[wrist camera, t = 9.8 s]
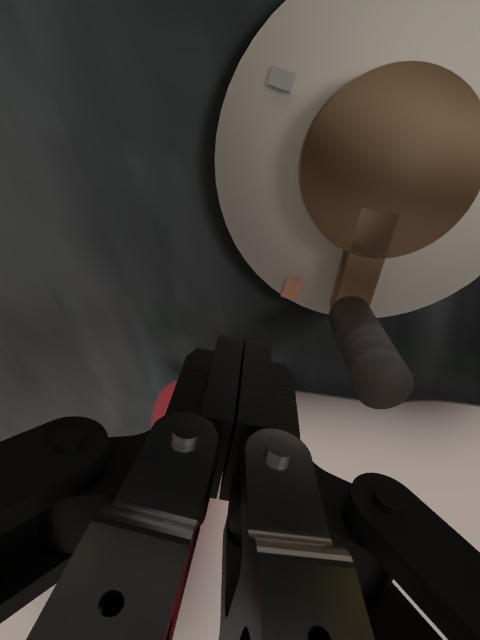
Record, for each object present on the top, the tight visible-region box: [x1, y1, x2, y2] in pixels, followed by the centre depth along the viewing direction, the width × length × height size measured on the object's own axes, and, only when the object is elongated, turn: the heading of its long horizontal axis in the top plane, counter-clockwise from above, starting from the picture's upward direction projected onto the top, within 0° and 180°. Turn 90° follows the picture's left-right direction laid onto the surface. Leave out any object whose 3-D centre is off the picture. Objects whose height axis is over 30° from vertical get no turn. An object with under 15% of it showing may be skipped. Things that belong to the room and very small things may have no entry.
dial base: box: [215, 0, 480, 318], centre depth 21 cm, size 18×18×2 cm
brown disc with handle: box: [298, 61, 480, 409], centre depth 18 cm, size 14×9×8 cm, turn 172°
